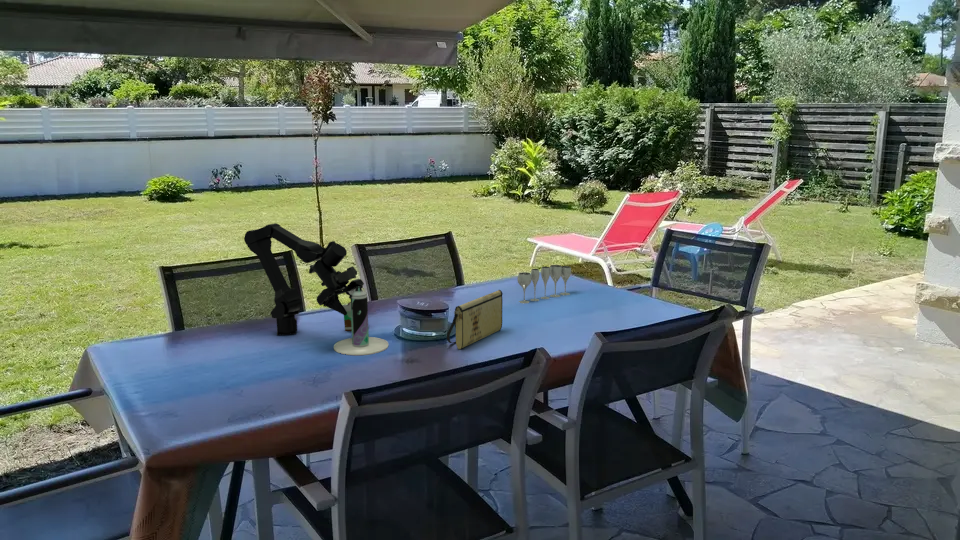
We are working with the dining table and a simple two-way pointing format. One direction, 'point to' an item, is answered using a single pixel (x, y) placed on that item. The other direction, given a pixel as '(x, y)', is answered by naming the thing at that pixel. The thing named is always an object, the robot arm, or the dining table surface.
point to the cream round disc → (373, 347)
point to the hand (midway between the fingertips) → (355, 311)
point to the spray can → (359, 318)
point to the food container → (348, 317)
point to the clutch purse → (477, 319)
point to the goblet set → (544, 278)
